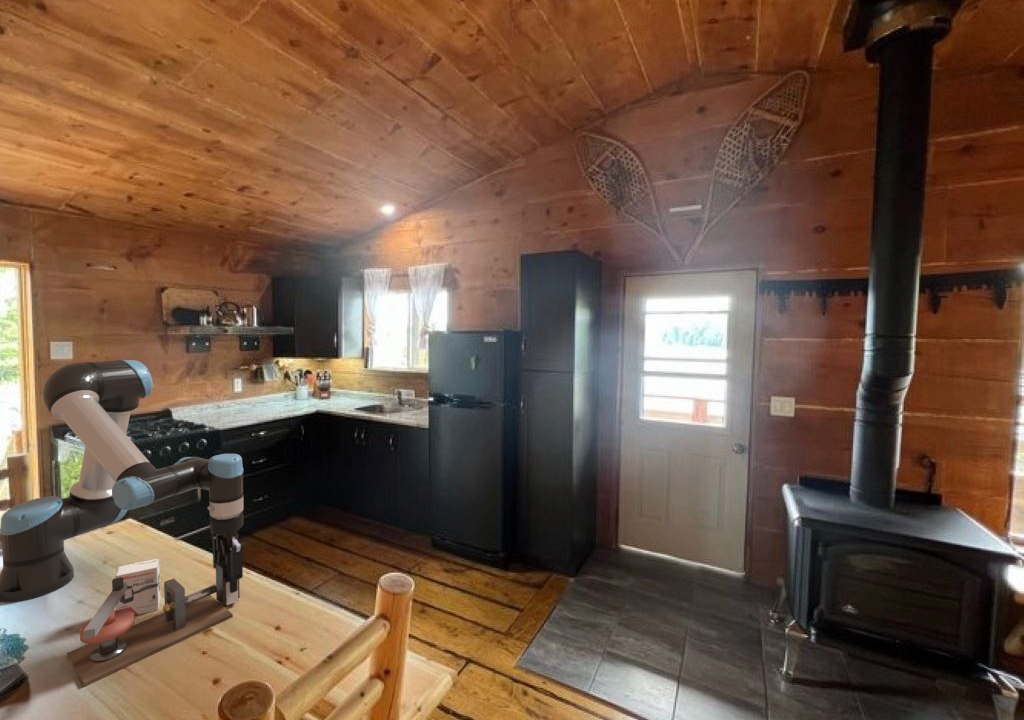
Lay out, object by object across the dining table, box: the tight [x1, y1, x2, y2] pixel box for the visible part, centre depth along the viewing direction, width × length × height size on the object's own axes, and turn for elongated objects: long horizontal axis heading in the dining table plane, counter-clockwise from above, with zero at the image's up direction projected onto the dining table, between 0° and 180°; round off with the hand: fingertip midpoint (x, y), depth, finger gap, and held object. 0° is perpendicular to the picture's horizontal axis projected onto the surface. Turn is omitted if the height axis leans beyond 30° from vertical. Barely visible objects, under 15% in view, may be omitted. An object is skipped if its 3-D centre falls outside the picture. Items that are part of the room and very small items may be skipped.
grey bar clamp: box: [162, 560, 240, 613], centre depth 115 cm, size 4×16×10 cm, turn 145°
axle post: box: [90, 637, 127, 663], centre depth 101 cm, size 6×6×5 cm
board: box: [66, 594, 234, 687], centre depth 108 cm, size 14×28×1 cm, turn 145°
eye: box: [163, 578, 186, 631], centre depth 111 cm, size 7×2×10 cm, turn 55°
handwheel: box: [79, 577, 135, 645], centre depth 100 cm, size 9×18×8 cm, turn 24°
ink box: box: [114, 558, 161, 617], centre depth 116 cm, size 8×5×12 cm, turn 123°
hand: (228, 598), depth 121 cm, fingers closed on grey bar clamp, 4 cm apart
